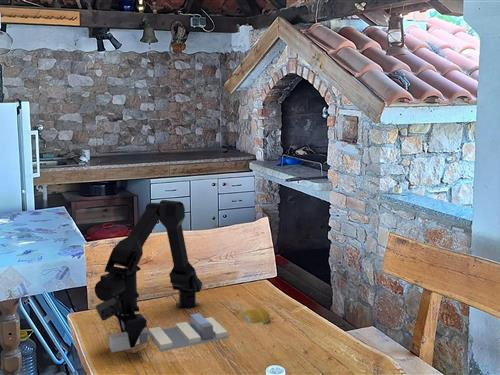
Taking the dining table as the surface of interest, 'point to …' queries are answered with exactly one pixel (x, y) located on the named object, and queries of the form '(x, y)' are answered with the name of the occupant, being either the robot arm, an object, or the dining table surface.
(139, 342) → the grey white bar
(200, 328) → the grey rectangular bar
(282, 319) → the dining table surface
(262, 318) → the bread roll
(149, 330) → the rack
